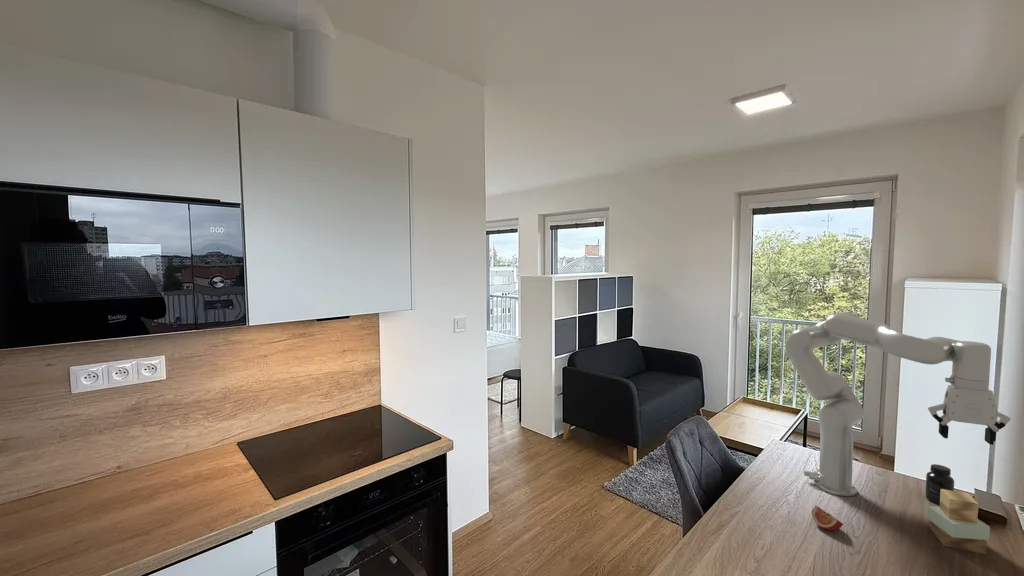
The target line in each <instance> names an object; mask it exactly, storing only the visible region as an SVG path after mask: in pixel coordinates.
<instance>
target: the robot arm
mask: <svg viewBox="0 0 1024 576" xmlns="http://www.w3.org/2000/svg"><path fill="white" fill-rule="evenodd" d="M840 340H841V341H842V340H847V341H850V342H853V343H854V342H855V343H857V344H862V345H865V346H869V347H872V348H876V349H877V350H880V351H883V352H885V353H887V354H889V355H890V356H891V355H892V356H894V357H898V358H901V359H905V360H908V361H912V362H915V363H919V364H923V365H924V364H925V365H933V366H934V365H938V364H941V363H943V362H952V365H951V366H952V369H951V375H950V377H945V378H944V381H945V383H948V386H947V388H946V390H945V394H944V398H943V402H942V403H941V404H936V405H933V406H928V408H927V410H928V412H929V414H930V415H931V417H932V418H934V419H935V420H936V421H937V422H938V434H939V435H940V436H942V437H943V438H944V439H948V438H949V428H950V427H949V425H948V424H949V423H951V422H952V421H953V422H959V423H964V424H973V425H980V426H981V425H982V426H987V427H985V430H984V441H985V442H986V443H988V444H989V445H991V446H993V445H994V442H996V439H997V432H999V431H1000V430H1001V429H1003V428H1005V427H1006V426H1007V424H1008V423H1009V422H1010V421H1011V419H1012V418H1011V417H1009V416H1008V415H1006V414H1004V413H1001V412H1000V411H997V409H996V402H995V401H996V400H995V394H994V392H993V391H992V390H991V389H989V388H990V377H991V375H990V374H991V359H992V358H991V356H992V348H991V346H990V345H988V344H987V343H983V342H979V341H972V340H971V341H967V340H959V339H958V340H956V339H952V338H949V337H943V336H931V337H928V338H921V337H916V336H912V335H908V334H904V333H902V332H899V331H895V330H893V329H892V328H890V327H889V326H888V325H887V324H885V323H883V322H878V321H874V320H870V319H865V318H862V317H860V316H859V315H858V314H856V313H853V312H850V311H843V312H837V313H833V314H831V315H829V316H827V317H826V318H825V320H824V321H822V322H820V323H819V322H818V323H817V324H814V325H810V326H806V327H800V328H797V329H796V330H794V331H792V332H791V333H790V334H789V335H788V337H787V338H786V341H785V352H786V355H787V357H788V359H789V360H790V362H791V363H792V365H793V367H794V368H795V370H796V373H797V374H798V376H799V378H800V380H801V381H802V382H803V385H804V386H805V389H806V390H807V392H808V394H809V395H810V396H811V397H812V398H814V400H817V401H827V404H825V405H823V406H822V408H820V410H819V412H818V422H819V429H820V430H819V431H820V432H819V433H820V434H819V437H820V439H819V441H820V442H819V443H820V444H819V469H816V471H810V470H803V476H804V477H808V479H809V480H813V483H814V485H815V486H816V487H817V488H819V489H820V490H821V491H824V492H825V493H829V494H832V495H834V496H840V497H854V496H856V495H857V493H858V488H857V487H856V486H855V485H854V484H853V483H852V482H853V464H854V463H853V461H854V460H853V459H854V437H853V432H852V427H853V426H855V425H857V424H859V423H860V422H861V421H862V420H863V418H864V409H863V406H862V404H861V403H860V401H859V399H858V397H856V395H855V393H854V391H853V390H852V388H851V387H850V385H849V382H847V380H846V379H845V377H843V376H842V375H841V374H840V373H838V372H835V371H831V370H826V368H825V367H824V366H823V364H822V361H820V359H819V358H818V357H817V356H816V355H815V354H814V353H813V350H815V349H819V348H823V347H826V346H828V345H830V344H834V343H835V342H839V341H840ZM939 411H942V414H943V415H941V416H939V414H938V412H939ZM997 418H999V420H998V421H997V420H996V419H997Z"/></svg>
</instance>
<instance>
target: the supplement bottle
mask: <svg viewBox="0 0 1024 576" xmlns="http://www.w3.org/2000/svg"><path fill="white" fill-rule="evenodd" d="M929 470H930V471H928V472H927V473H926V474H925V477H926V479H925V496H924V497H925V498H926V500H928V501H930V502H931V503H933V504H937V505H939V506H940V491H941V489H945V490H951V491H955V479H954V478H953V477H952V476H951V468H949V467H947V466H945V465H940V464H937V463H936V464H934V463H933V464H931V465H930V469H929Z"/></svg>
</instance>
